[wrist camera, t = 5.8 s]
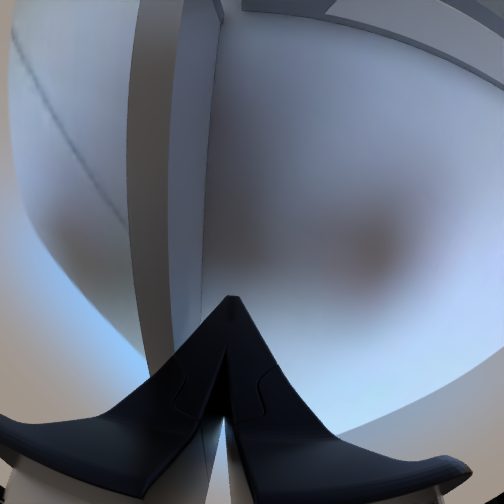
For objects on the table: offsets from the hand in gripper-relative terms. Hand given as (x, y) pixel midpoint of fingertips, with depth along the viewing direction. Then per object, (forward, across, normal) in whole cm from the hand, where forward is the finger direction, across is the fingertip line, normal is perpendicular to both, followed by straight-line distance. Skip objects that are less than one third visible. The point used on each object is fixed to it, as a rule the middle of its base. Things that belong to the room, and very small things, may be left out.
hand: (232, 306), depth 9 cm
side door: (+3, +2, -3) cm, 5 cm away
